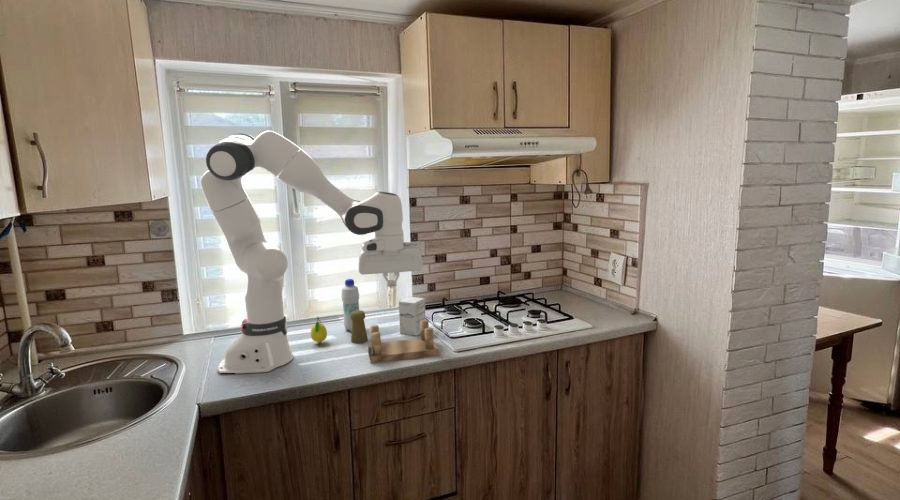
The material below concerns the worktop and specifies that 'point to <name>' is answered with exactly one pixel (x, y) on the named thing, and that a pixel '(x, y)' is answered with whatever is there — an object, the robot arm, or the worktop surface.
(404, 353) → the wooden peg board
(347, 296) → the bottle
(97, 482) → the worktop surface
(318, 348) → the worktop surface
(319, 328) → the lemon
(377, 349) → the folding leg
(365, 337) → the cork
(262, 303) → the robot arm
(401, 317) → the supplement box
